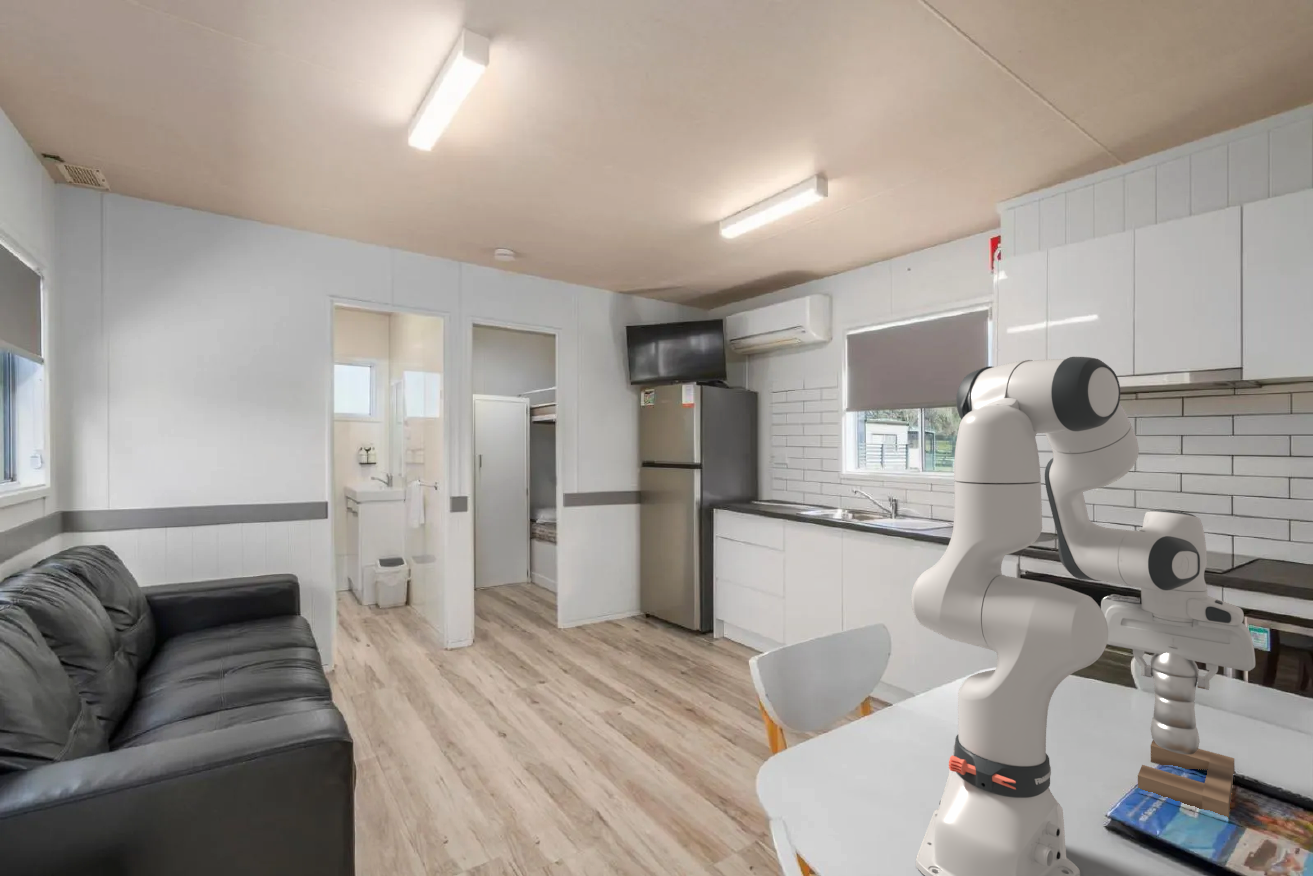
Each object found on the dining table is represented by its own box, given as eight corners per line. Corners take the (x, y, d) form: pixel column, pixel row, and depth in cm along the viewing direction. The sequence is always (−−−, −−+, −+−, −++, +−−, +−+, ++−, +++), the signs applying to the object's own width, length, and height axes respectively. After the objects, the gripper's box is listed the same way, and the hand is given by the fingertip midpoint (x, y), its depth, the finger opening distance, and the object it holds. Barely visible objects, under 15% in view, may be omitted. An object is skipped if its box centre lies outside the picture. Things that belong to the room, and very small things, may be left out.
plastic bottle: (1180, 742, 107) (1179, 630, 108) (1210, 761, 100) (1208, 642, 101) (1141, 739, 108) (1140, 628, 108) (1168, 758, 101) (1166, 640, 102)
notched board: (1228, 823, 92) (1228, 803, 92) (1137, 793, 100) (1137, 775, 100) (1234, 775, 106) (1234, 758, 106) (1154, 752, 114) (1154, 736, 114)
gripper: (1097, 595, 110) (1098, 670, 110) (1254, 617, 95) (1255, 705, 95) (1104, 589, 114) (1104, 662, 114) (1254, 610, 100) (1256, 694, 99)
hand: (1174, 682), depth 104 cm, fingers closed on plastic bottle, 6 cm apart
